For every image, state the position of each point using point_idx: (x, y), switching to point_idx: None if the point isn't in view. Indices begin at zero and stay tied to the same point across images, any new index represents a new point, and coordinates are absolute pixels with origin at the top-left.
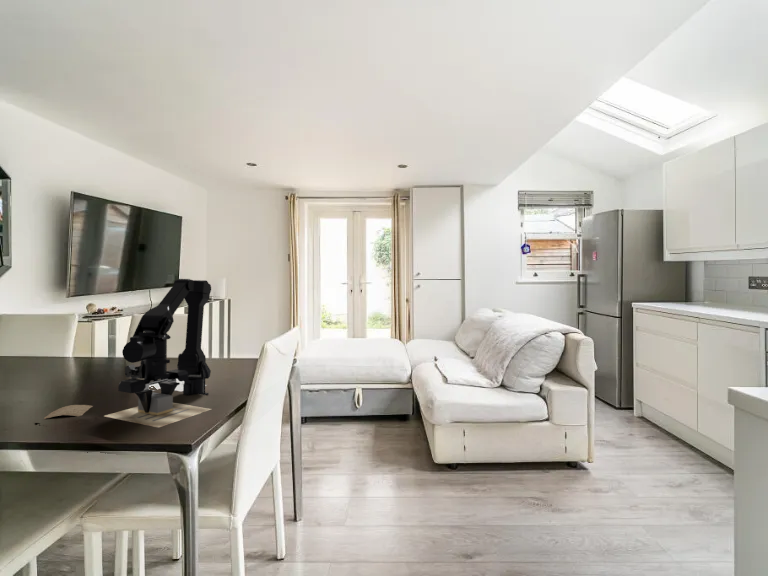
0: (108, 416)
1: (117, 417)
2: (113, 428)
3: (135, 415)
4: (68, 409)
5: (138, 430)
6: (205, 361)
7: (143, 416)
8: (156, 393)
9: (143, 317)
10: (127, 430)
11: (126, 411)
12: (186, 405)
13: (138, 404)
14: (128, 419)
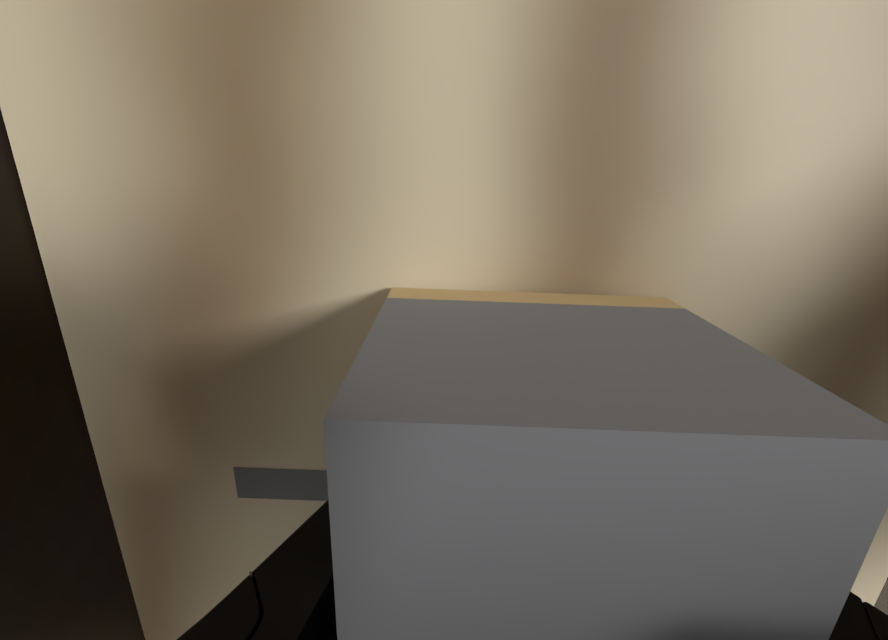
0: (6, 45)
1: (81, 241)
2: (3, 399)
3: (279, 381)
4: None
5: (137, 620)
6: None
7: (303, 499)
8: (783, 607)
9: None
10: (74, 551)
11: (334, 58)
12: (863, 582)
13: (373, 335)
14: (136, 443)
